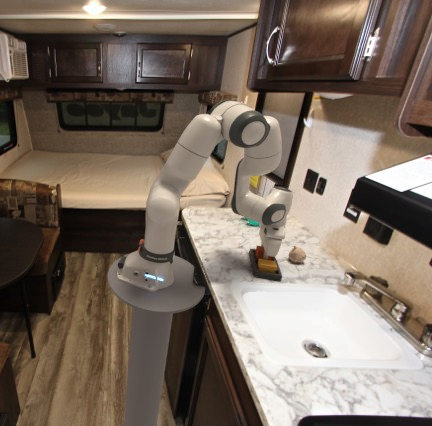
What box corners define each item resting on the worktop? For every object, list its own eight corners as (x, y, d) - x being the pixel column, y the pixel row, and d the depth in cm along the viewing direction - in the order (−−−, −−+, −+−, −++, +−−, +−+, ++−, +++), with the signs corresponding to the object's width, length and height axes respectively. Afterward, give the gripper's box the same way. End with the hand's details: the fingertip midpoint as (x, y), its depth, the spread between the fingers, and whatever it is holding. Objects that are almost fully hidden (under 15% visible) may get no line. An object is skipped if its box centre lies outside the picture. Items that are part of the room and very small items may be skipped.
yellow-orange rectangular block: (258, 272, 116) (260, 264, 115) (256, 266, 120) (258, 258, 119) (274, 275, 115) (277, 267, 113) (272, 269, 119) (275, 261, 117)
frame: (254, 276, 115) (255, 271, 114) (248, 253, 131) (250, 248, 129) (280, 281, 112) (282, 276, 111) (272, 257, 128) (273, 252, 127)
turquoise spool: (258, 218, 164) (262, 202, 160) (265, 226, 155) (270, 209, 151) (240, 218, 164) (243, 201, 160) (246, 226, 155) (251, 209, 151)
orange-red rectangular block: (256, 258, 123) (258, 250, 122) (254, 253, 127) (256, 245, 125) (271, 261, 122) (274, 253, 120) (269, 255, 126) (272, 247, 124)
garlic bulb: (285, 255, 129) (290, 240, 126) (302, 258, 128) (307, 242, 124) (288, 263, 124) (293, 247, 120) (305, 266, 122) (311, 250, 119)
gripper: (259, 213, 128) (252, 241, 134) (267, 235, 110) (259, 265, 116) (275, 215, 126) (267, 243, 132) (286, 238, 108) (276, 268, 114)
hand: (263, 254), depth 124 cm, fingers closed on orange-red rectangular block, 4 cm apart
